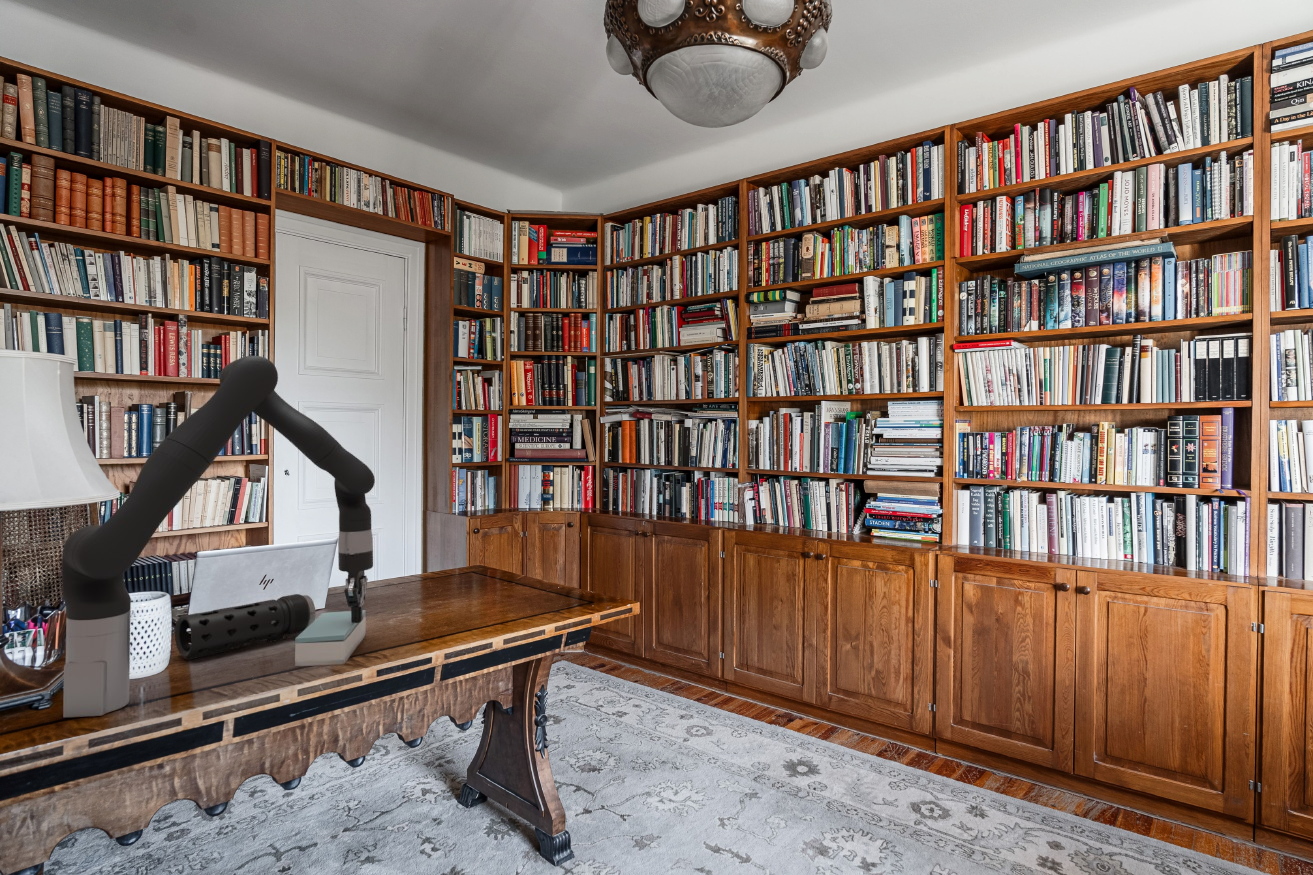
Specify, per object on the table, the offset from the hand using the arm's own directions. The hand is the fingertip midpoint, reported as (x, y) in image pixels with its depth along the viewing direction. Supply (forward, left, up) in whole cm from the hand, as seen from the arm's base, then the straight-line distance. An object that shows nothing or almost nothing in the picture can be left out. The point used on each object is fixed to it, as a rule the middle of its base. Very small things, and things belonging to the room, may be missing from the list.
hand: (357, 621), depth 165 cm
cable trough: (0, +5, -6) cm, 8 cm away
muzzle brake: (+6, +25, -7) cm, 27 cm away
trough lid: (0, +5, -1) cm, 5 cm away
